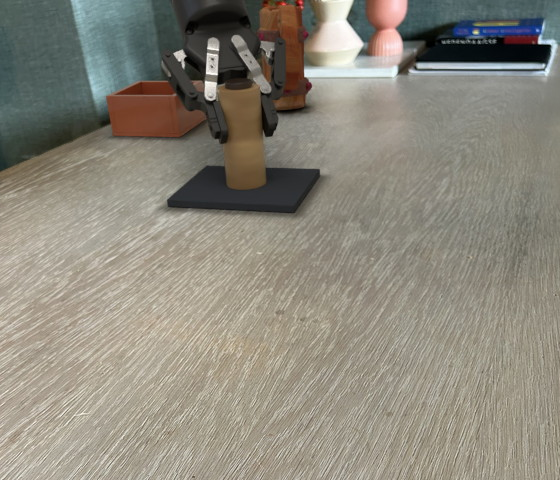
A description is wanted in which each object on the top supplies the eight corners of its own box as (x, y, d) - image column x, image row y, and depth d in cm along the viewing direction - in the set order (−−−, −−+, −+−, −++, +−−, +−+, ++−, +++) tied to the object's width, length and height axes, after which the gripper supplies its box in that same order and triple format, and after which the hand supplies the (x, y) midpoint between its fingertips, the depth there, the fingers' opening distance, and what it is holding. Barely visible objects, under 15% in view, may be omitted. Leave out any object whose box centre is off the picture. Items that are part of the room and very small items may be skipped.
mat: (167, 206, 72) (166, 199, 71) (207, 171, 81) (206, 165, 81) (294, 213, 68) (293, 205, 68) (320, 175, 78) (320, 168, 77)
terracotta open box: (113, 135, 98) (105, 96, 95) (144, 117, 106) (138, 80, 103) (180, 137, 95) (174, 96, 92) (206, 118, 103) (202, 80, 100)
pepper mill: (221, 189, 73) (210, 85, 67) (234, 176, 76) (224, 76, 70) (259, 190, 72) (252, 85, 66) (271, 177, 75) (264, 76, 69)
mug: (257, 103, 110) (250, -1, 102) (306, 99, 111) (303, -4, 102) (265, 125, 98) (258, 9, 90) (320, 121, 98) (318, 5, 90)
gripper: (140, -27, 67) (182, 124, 64) (274, -38, 71) (321, 105, 68) (140, 27, 74) (178, 165, 71) (262, 15, 78) (304, 146, 75)
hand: (247, 135), depth 69 cm, fingers closed on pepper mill, 4 cm apart
